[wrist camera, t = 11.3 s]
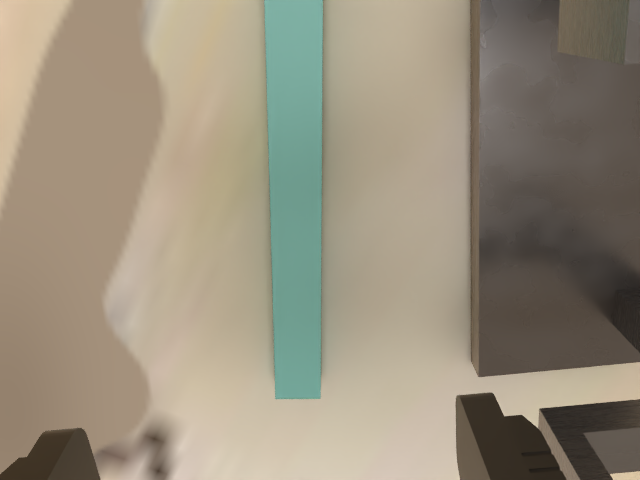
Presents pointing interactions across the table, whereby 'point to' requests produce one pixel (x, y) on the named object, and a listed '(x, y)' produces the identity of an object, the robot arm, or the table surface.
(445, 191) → the table surface
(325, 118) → the table surface
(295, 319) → the teal rail
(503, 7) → the hook rack
